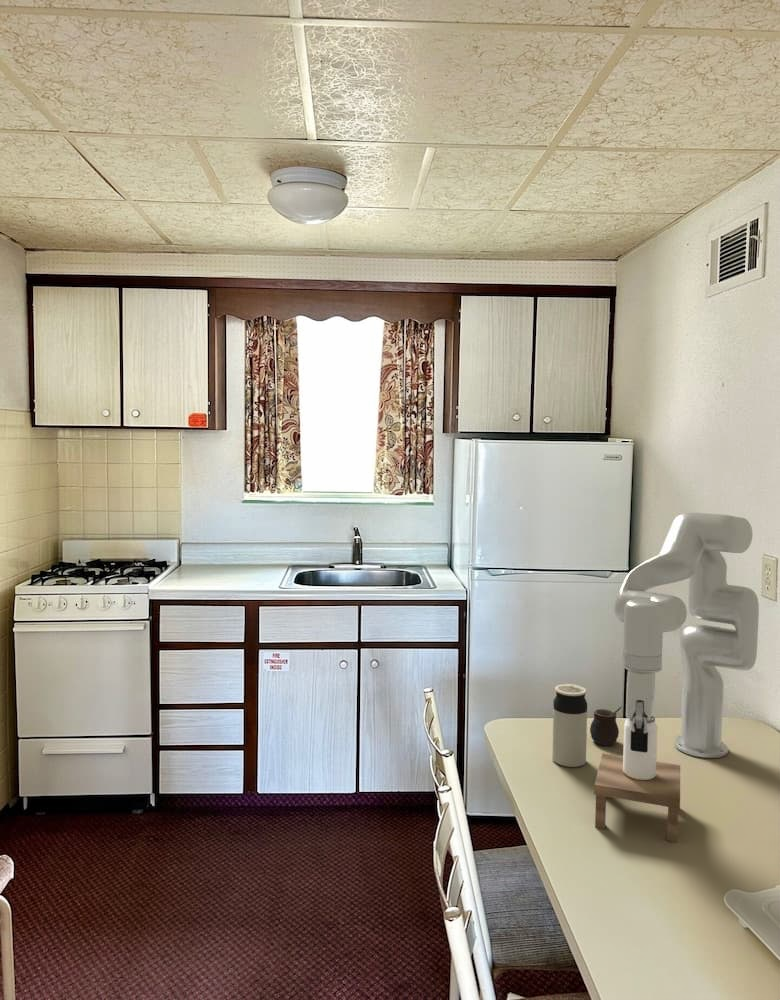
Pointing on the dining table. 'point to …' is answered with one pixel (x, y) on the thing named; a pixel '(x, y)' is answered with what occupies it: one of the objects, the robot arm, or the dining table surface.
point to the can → (640, 753)
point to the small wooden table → (638, 790)
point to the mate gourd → (604, 727)
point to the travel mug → (569, 725)
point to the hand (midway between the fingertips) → (640, 741)
